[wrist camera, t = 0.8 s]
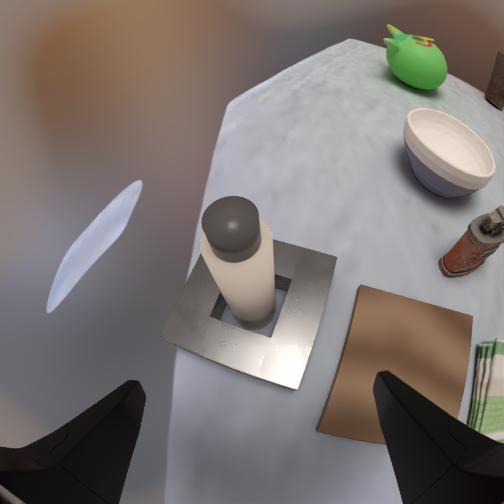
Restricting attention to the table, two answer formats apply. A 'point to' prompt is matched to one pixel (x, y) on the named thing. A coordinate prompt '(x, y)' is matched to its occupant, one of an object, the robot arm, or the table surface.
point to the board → (396, 360)
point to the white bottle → (240, 259)
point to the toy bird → (415, 60)
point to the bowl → (446, 153)
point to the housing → (249, 343)
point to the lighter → (474, 245)
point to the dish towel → (489, 391)
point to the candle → (497, 83)
